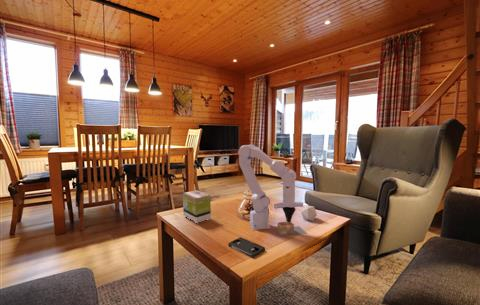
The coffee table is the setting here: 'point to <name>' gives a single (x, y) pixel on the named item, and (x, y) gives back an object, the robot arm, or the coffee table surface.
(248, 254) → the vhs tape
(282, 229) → the maple block
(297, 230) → the slate mat
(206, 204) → the tea box
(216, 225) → the coffee table surface
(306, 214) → the die
